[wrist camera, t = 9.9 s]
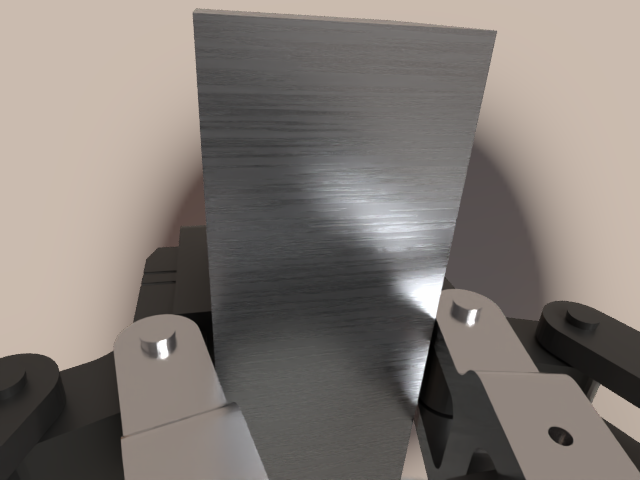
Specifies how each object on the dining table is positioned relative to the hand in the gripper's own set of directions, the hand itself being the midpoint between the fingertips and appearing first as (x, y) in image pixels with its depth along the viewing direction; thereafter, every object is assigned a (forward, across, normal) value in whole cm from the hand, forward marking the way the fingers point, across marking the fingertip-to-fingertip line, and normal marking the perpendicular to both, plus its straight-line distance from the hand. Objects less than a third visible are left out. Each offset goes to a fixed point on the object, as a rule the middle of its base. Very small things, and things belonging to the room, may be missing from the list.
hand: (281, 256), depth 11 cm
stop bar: (-3, 0, +8) cm, 9 cm away
